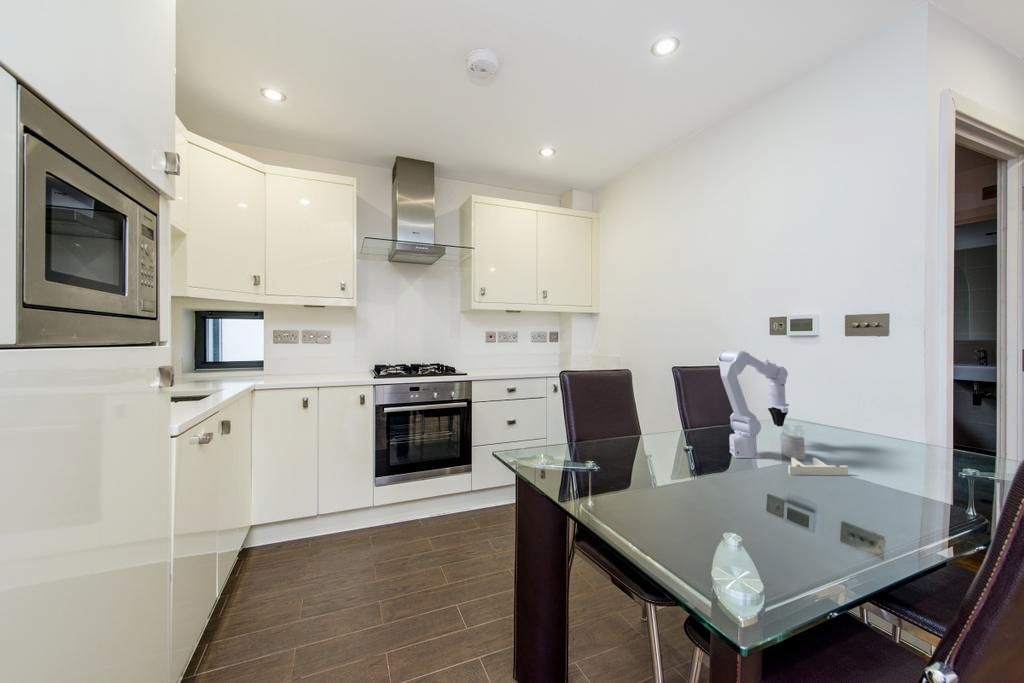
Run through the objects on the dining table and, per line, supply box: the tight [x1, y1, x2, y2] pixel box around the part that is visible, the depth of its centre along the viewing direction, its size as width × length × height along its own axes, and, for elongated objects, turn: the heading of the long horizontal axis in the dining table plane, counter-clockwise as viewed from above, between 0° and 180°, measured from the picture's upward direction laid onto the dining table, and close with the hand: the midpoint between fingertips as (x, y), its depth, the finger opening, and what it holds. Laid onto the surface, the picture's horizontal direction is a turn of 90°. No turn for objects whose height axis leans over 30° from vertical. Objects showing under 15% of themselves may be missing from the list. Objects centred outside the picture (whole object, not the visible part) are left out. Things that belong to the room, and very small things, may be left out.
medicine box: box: [780, 432, 806, 461], centre depth 157 cm, size 8×4×9 cm, turn 179°
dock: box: [787, 457, 849, 476], centre depth 144 cm, size 18×11×3 cm, turn 77°
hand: (778, 425), depth 169 cm, fingers closed
